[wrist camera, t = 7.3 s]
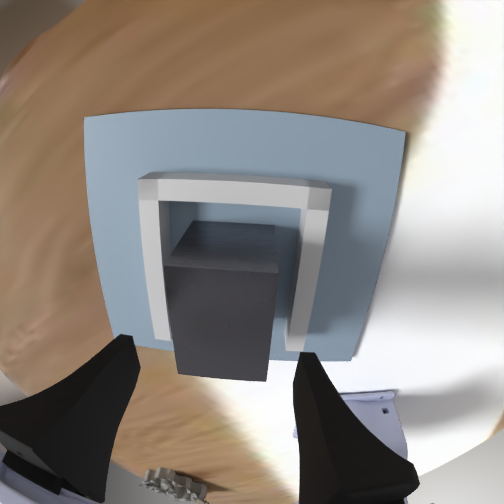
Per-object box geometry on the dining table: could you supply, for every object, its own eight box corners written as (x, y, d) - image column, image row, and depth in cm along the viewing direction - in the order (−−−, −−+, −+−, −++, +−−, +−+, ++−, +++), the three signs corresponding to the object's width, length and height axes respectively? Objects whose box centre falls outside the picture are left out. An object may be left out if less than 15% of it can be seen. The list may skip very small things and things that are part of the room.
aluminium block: (274, 224, 18) (278, 273, 13) (266, 318, 21) (266, 381, 16) (192, 220, 18) (163, 265, 13) (196, 313, 21) (178, 373, 16)
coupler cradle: (402, 131, 16) (420, 134, 13) (349, 356, 23) (355, 378, 21) (88, 117, 16) (66, 119, 14) (117, 337, 23) (106, 356, 21)
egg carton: (214, 486, 39) (212, 505, 35) (185, 489, 41) (182, 507, 37) (167, 464, 35) (162, 485, 32) (139, 468, 38) (134, 486, 34)
